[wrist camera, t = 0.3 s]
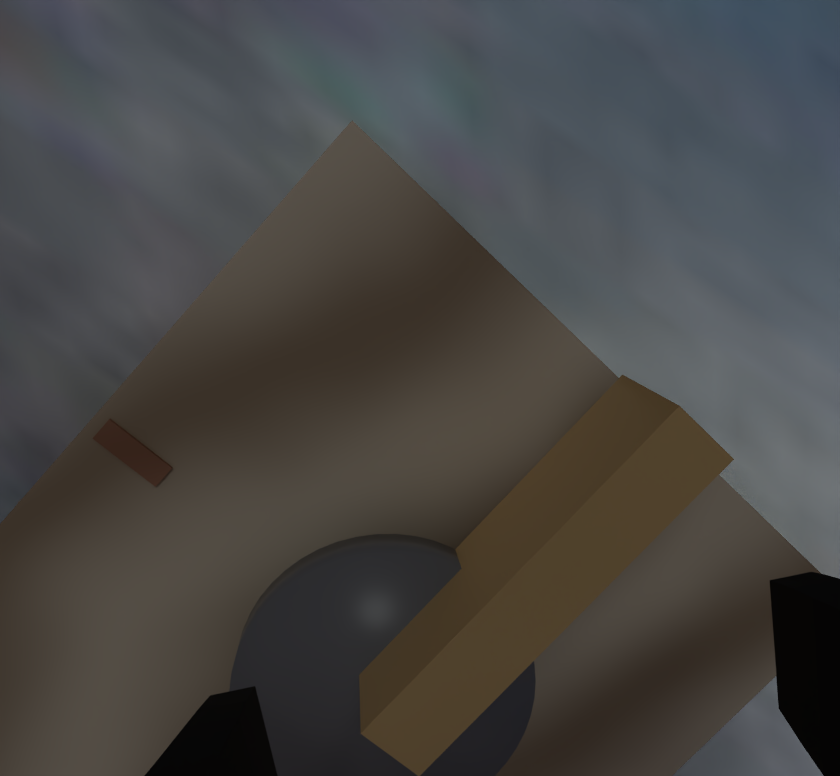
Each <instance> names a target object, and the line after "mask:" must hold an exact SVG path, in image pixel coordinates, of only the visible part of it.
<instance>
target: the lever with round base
mask: <svg viewBox="0 0 840 776" xmlns="http://www.w3.org/2000/svg"><path fill="white" fill-rule="evenodd" d="M733 460H734V459H733V458H732V457H731V456H730V455H729V454H728V453H727V452H726V451H725V450H724V449H723V448H722V447H721V446H720V445H719V444H718V443H717V442H716V441H715V440H714V439H713V438H712V437H711V436H710V435H709V434H708V433H707V432H706V431H705V430H704V429H703V428H702V427H700V426H699V425H698V424H697V423H696V422H695V421H694V420H693V419H692V418H691V417H690V416H689V415H688V414H687V413H686V412H685V411H684V410H683V409H682V408H681V407H680V406H679V405H677V404H675V403H673V402H671V401H670V400H668V399H666V398H664V397H662V396H660V395H659V394H657V393H655V392H653V391H651V390H649V389H648V388H646V387H644V386H642V385H640V384H638V383H637V382H635V381H633V380H631V379H629V378H627V377H626V376H624V375H622V376H621V377H620V378H619V379H618V380H617V381H616V382H615V383H614V384H613V385H612V386H611V387H610V388H609V389H608V390H607V391H606V392H605V393H604V394H603V396H602V397H601V398H600V399H599V400H598V401H597V402H596V403H595V404H594V405H593V406H592V407H591V408H590V409H589V410H588V411H587V412H586V413H585V414H584V415H583V416H582V417H581V418H580V420H579V421H578V422H577V423H576V424H575V425H574V426H573V427H572V428H571V429H570V430H569V431H568V432H567V433H566V434H565V435H564V436H563V437H562V438H561V439H560V440H559V441H558V442H557V444H556V445H555V446H554V447H553V448H552V449H551V450H550V451H549V452H548V453H547V454H546V455H545V456H544V457H543V458H542V459H541V460H540V461H539V462H538V463H537V464H536V465H535V466H534V468H533V469H532V470H531V471H530V472H529V473H528V474H527V475H526V476H525V477H524V478H523V479H522V480H521V481H520V482H519V483H518V484H517V485H516V486H515V487H514V488H513V489H512V491H511V492H510V493H509V494H508V495H507V496H506V497H505V498H504V499H503V500H502V501H501V502H500V503H499V504H498V505H497V506H496V507H495V508H494V509H493V510H492V511H491V512H490V513H489V515H488V516H487V517H486V518H485V519H484V520H483V521H482V522H481V523H480V524H479V525H478V526H477V527H476V528H475V529H474V530H473V531H472V532H471V533H470V534H469V535H468V536H467V537H466V539H465V540H464V541H463V542H462V543H461V544H460V545H459V546H458V547H457V548H456V549H454V548H452V547H450V546H447V545H444V544H442V543H439V542H436V541H434V540H430V539H426V538H421V537H417V536H411V535H402V534H373V535H366V536H358V537H354V538H350V539H346V540H342V541H338V542H335V543H333V544H330V545H328V546H325V547H323V548H320V549H318V550H316V551H314V552H312V553H311V554H309V555H307V556H305V557H303V558H302V559H300V560H299V561H297V562H296V563H295V564H293V565H292V566H290V567H289V568H288V569H286V570H285V571H284V572H283V573H282V574H281V575H280V576H279V577H278V578H276V579H275V580H274V581H273V582H272V583H271V584H270V586H269V587H268V588H267V589H266V591H265V592H264V593H263V594H262V595H261V597H260V598H259V599H258V601H257V603H256V604H255V606H254V608H253V609H252V611H251V613H250V614H249V617H248V619H247V621H246V624H245V626H244V628H243V631H242V634H241V638H240V642H239V645H238V649H237V653H236V657H235V661H234V664H233V668H232V672H231V680H230V689H229V691H234V690H239V689H243V688H248V687H253V686H255V687H256V691H257V695H258V699H259V703H260V707H261V711H262V715H263V719H264V723H265V727H266V731H267V735H268V739H269V743H270V747H271V751H272V755H273V759H274V763H275V767H276V771H277V775H278V776H495V775H496V774H497V773H498V772H499V771H500V769H501V768H502V767H503V766H504V765H505V764H506V763H507V761H508V760H509V758H510V757H511V755H512V754H513V753H514V751H515V750H516V748H517V746H518V744H519V742H520V741H521V739H522V737H523V735H524V733H525V730H526V728H527V725H528V722H529V719H530V716H531V712H532V708H533V703H534V698H535V683H536V678H535V665H534V660H535V659H536V658H537V657H538V656H539V655H540V654H541V653H542V652H543V651H544V650H545V649H546V648H547V647H548V646H549V645H550V644H551V643H552V642H553V641H554V640H555V639H556V638H557V637H558V636H559V635H560V634H561V633H562V632H563V631H564V630H565V629H566V628H567V627H568V626H569V625H570V624H571V623H572V622H573V621H574V620H575V619H576V618H577V617H578V616H579V615H580V614H581V613H582V612H583V611H584V610H585V609H586V608H587V607H588V606H589V605H590V604H591V603H592V602H593V601H594V600H595V599H596V598H597V597H598V596H599V595H600V594H601V593H602V592H603V591H604V590H605V589H606V588H607V587H608V586H609V585H610V584H611V583H612V582H613V581H614V580H615V579H616V578H617V577H618V576H619V575H620V574H621V573H622V572H623V571H624V570H625V569H626V568H627V567H628V565H629V564H630V563H631V562H632V561H633V560H634V559H635V558H636V557H637V556H638V555H639V554H640V553H641V552H642V551H643V550H644V549H645V548H646V547H647V546H648V545H649V544H650V543H651V542H652V541H653V540H654V539H655V538H656V537H657V536H658V535H659V534H660V533H661V532H662V531H663V530H664V529H665V528H666V527H667V526H668V525H669V524H670V523H671V522H672V521H673V520H674V519H675V518H676V517H677V516H678V515H679V514H680V513H681V512H682V511H683V510H684V509H685V508H686V507H687V506H688V505H689V504H690V503H691V502H692V501H693V500H694V499H695V498H696V497H697V496H698V495H699V494H700V493H701V492H702V491H703V490H704V489H705V488H706V487H707V486H708V485H709V484H710V483H711V482H712V481H713V480H714V479H715V478H716V477H717V476H718V475H719V474H720V473H721V472H722V471H723V470H724V469H725V468H726V467H727V466H728V465H729V464H730V463H731V462H732V461H733Z"/></svg>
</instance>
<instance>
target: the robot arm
mask: <svg viewBox="0 0 840 776" xmlns="http://www.w3.org/2000/svg"><path fill="white" fill-rule="evenodd" d="M770 594H771V608H772V621H773V635H774V649H775V662H776V676H777V690H778V703H779V709H780V711H781V713H782V714H783V716H784V717H785V719H786V720H787V722H788V723H789V725H790V726H791V728H792V730H793V731H794V733H795V734H796V736H797V737H798V739H799V740H800V742H801V743H802V745H803V746H804V748H805V749H806V751H807V752H808V754H809V755H810V757H811V758H812V759H813V761H814V762H815V764H816V765H817V767H818V768H819V770H820V771H821V772H822V774H823V775H824V776H840V579H838V578H835V577H831V576H828V575H824V574H820V573H815V572H807V573H802V574H798V575H793V576H788V577H783V578H778V579H773V580H770ZM145 776H278V775H277V771H276V767H275V763H274V759H273V755H272V751H271V747H270V743H269V739H268V735H267V731H266V727H265V723H264V719H263V715H262V711H261V707H260V703H259V699H258V695H257V691H256V687H255V686H253V687H248V688H243V689H239V690H234V691H229V692H224V693H219V694H214V695H210V696H209V697H208V698H207V700H206V701H205V702H204V703H203V704H202V705H201V706H200V708H199V709H198V710H197V711H196V713H195V714H194V715H193V716H192V717H191V719H190V720H189V721H188V722H187V724H186V725H185V726H184V727H183V729H182V730H181V731H180V732H179V734H178V735H177V736H176V737H175V739H174V740H173V741H172V742H171V744H170V745H169V746H168V747H167V749H166V750H165V751H164V752H163V754H162V755H161V756H160V757H159V759H158V760H157V761H156V762H155V763H154V765H153V766H152V767H151V768H150V770H149V771H148V772H147V773H146V774H145Z"/></svg>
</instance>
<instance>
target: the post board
mask: <svg viewBox="0 0 840 776" xmlns="http://www.w3.org/2000/svg"><path fill="white" fill-rule="evenodd" d="M618 379H619V378H618V377H617V376H616V375H615V374H614V373H613V372H612V371H611V370H610V369H609V368H608V367H607V366H606V365H605V364H604V363H603V362H602V361H601V360H600V359H598V358H597V357H596V356H595V355H594V354H593V353H592V352H591V351H590V350H589V349H588V348H587V347H586V346H585V345H584V344H583V343H582V342H581V341H580V340H579V339H578V338H577V337H576V336H575V335H574V334H573V333H572V332H571V331H569V330H568V329H567V328H566V327H565V326H564V325H563V324H562V323H561V322H560V321H559V320H558V319H557V318H556V317H555V316H554V315H553V314H552V313H551V312H550V311H549V310H548V309H547V308H546V307H545V306H544V305H543V304H542V303H541V302H539V301H538V300H537V299H536V298H535V297H534V296H533V295H532V294H531V293H530V292H529V291H528V290H527V289H526V288H525V287H524V286H523V285H522V284H521V283H520V282H519V281H518V280H517V279H516V278H515V277H514V276H513V275H512V274H510V273H509V272H508V271H507V270H506V269H505V268H504V267H503V266H502V265H501V264H500V263H499V262H498V261H497V260H496V259H495V258H494V257H493V256H492V255H491V254H490V253H489V252H488V251H487V250H486V249H485V248H484V247H483V246H482V245H480V244H479V243H478V242H477V241H476V240H475V239H474V238H473V237H472V236H471V235H470V234H469V233H468V232H467V231H466V230H465V229H464V228H463V227H462V226H461V225H460V224H459V223H458V222H457V221H456V220H455V219H454V218H453V217H451V216H450V215H449V214H448V213H447V212H446V211H445V210H444V209H443V208H442V207H441V206H440V205H439V204H438V203H437V202H436V201H435V200H434V199H433V198H432V197H431V196H430V195H429V194H428V193H427V192H426V191H425V190H424V189H423V188H421V187H420V186H419V185H418V184H417V183H416V182H415V181H414V180H413V179H412V178H411V177H410V176H409V175H408V174H407V173H406V172H405V171H404V170H403V169H402V168H401V167H400V166H399V165H398V164H397V163H396V162H395V161H394V160H392V159H391V158H390V157H389V156H388V155H387V154H386V153H385V152H384V151H383V150H382V149H381V148H380V147H379V146H378V145H377V144H376V143H375V142H374V141H373V140H372V139H371V138H370V137H369V136H368V135H367V134H366V133H365V132H363V131H362V130H361V129H360V128H359V127H358V126H357V125H356V124H355V123H354V122H353V121H351V122H350V123H349V125H348V126H347V127H346V128H345V129H344V130H343V131H342V133H341V134H340V135H339V136H338V137H337V138H336V139H335V141H334V142H333V143H332V144H331V145H330V146H329V147H328V149H327V150H326V151H325V152H324V153H323V154H322V155H321V157H320V158H319V159H318V160H317V161H316V162H315V164H314V165H313V166H312V167H311V168H310V169H309V170H308V172H307V173H306V174H305V175H304V176H303V177H302V178H301V180H300V181H299V182H298V183H297V184H296V185H295V186H294V188H293V189H292V190H291V191H290V192H289V193H288V194H287V196H286V197H285V198H284V199H283V200H282V201H281V203H280V204H279V205H278V206H277V207H276V208H275V209H274V211H273V212H272V213H271V214H270V215H269V216H268V217H267V219H266V220H265V221H264V222H263V223H262V224H261V225H260V227H259V228H258V229H257V230H256V231H255V232H254V233H253V235H252V236H251V237H250V238H249V239H248V240H247V242H246V243H245V244H244V245H243V246H242V247H241V248H240V250H239V251H238V252H237V253H236V254H235V255H234V256H233V258H232V259H231V260H230V261H229V262H228V263H227V264H226V266H225V267H224V268H223V269H222V270H221V271H220V272H219V274H218V275H217V276H216V277H215V278H214V279H213V281H212V282H211V283H210V284H209V285H208V286H207V287H206V289H205V290H204V291H203V292H202V293H201V294H200V295H199V297H198V298H197V299H196V300H195V301H194V302H193V303H192V305H191V306H190V307H189V308H188V309H187V310H186V311H185V313H184V314H183V315H182V316H181V317H180V318H179V320H178V321H177V322H176V323H175V324H174V325H173V326H172V328H171V329H170V330H169V331H168V332H167V333H166V334H165V336H164V337H163V338H162V339H161V340H160V341H159V342H158V344H157V345H156V346H155V347H154V348H153V349H152V350H151V352H150V353H149V354H148V355H147V356H146V357H145V359H144V360H143V361H142V362H141V363H140V364H139V365H138V367H137V368H136V369H135V370H134V371H133V372H132V373H131V375H130V376H129V377H128V378H127V379H126V380H125V381H124V383H123V384H122V385H121V386H120V387H119V388H118V389H117V391H116V392H115V393H114V394H113V395H112V396H111V398H110V399H109V400H108V401H107V402H106V403H105V404H104V406H103V407H102V408H101V409H100V410H99V411H98V412H97V414H96V415H95V416H94V417H93V418H92V419H91V420H90V422H89V423H88V424H87V425H86V426H85V427H84V428H83V430H82V431H81V432H80V433H79V434H78V435H77V437H76V438H75V439H74V440H73V441H72V442H71V443H70V445H69V446H68V447H67V448H66V449H65V450H64V451H63V453H62V454H61V455H60V456H59V457H58V458H57V459H56V461H55V462H54V463H53V464H52V465H51V466H50V467H49V469H48V470H47V471H46V472H45V473H44V474H43V475H42V477H41V478H40V479H39V480H38V481H37V482H36V484H35V485H34V486H33V487H32V488H31V489H30V490H29V492H28V493H27V494H26V495H25V496H24V497H23V498H22V500H21V501H20V502H19V503H18V504H17V505H16V506H15V508H14V509H13V510H12V511H11V512H10V513H9V514H8V516H7V517H6V518H5V519H4V520H3V521H2V523H1V524H0V776H145V774H146V773H147V772H148V771H149V770H150V768H151V767H152V766H153V765H154V763H155V762H156V761H157V760H158V759H159V757H160V756H161V755H162V754H163V752H164V751H165V750H166V749H167V747H168V746H169V745H170V744H171V742H172V741H173V740H174V739H175V737H176V736H177V735H178V734H179V732H180V731H181V730H182V729H183V727H184V726H185V725H186V724H187V722H188V721H189V720H190V719H191V717H192V716H193V715H194V714H195V713H196V711H197V710H198V709H199V708H200V706H201V705H202V704H203V703H204V702H205V701H206V700H207V698H208V697H209V696H210V695H214V694H219V693H224V692H229V689H230V680H231V672H232V668H233V664H234V661H235V657H236V653H237V649H238V645H239V642H240V638H241V634H242V631H243V628H244V626H245V624H246V621H247V619H248V617H249V614H250V613H251V611H252V609H253V608H254V606H255V604H256V603H257V601H258V599H259V598H260V597H261V595H262V594H263V593H264V592H265V591H266V589H267V588H268V587H269V586H270V584H271V583H272V582H273V581H274V580H275V579H276V578H278V577H279V576H280V575H281V574H282V573H283V572H284V571H285V570H286V569H288V568H289V567H290V566H292V565H293V564H295V563H296V562H297V561H299V560H300V559H302V558H303V557H305V556H307V555H309V554H311V553H312V552H314V551H316V550H318V549H320V548H323V547H325V546H328V545H330V544H333V543H335V542H338V541H342V540H346V539H350V538H354V537H358V536H366V535H373V534H402V535H411V536H417V537H421V538H426V539H430V540H434V541H436V542H439V543H442V544H444V545H447V546H450V547H452V548H454V549H456V548H457V547H458V546H459V545H460V544H461V543H462V542H463V541H464V540H465V539H466V537H467V536H468V535H469V534H470V533H471V532H472V531H473V530H474V529H475V528H476V527H477V526H478V525H479V524H480V523H481V522H482V521H483V520H484V519H485V518H486V517H487V516H488V515H489V513H490V512H491V511H492V510H493V509H494V508H495V507H496V506H497V505H498V504H499V503H500V502H501V501H502V500H503V499H504V498H505V497H506V496H507V495H508V494H509V493H510V492H511V491H512V489H513V488H514V487H515V486H516V485H517V484H518V483H519V482H520V481H521V480H522V479H523V478H524V477H525V476H526V475H527V474H528V473H529V472H530V471H531V470H532V469H533V468H534V466H535V465H536V464H537V463H538V462H539V461H540V460H541V459H542V458H543V457H544V456H545V455H546V454H547V453H548V452H549V451H550V450H551V449H552V448H553V447H554V446H555V445H556V444H557V442H558V441H559V440H560V439H561V438H562V437H563V436H564V435H565V434H566V433H567V432H568V431H569V430H570V429H571V428H572V427H573V426H574V425H575V424H576V423H577V422H578V421H579V420H580V418H581V417H582V416H583V415H584V414H585V413H586V412H587V411H588V410H589V409H590V408H591V407H592V406H593V405H594V404H595V403H596V402H597V401H598V400H599V399H600V398H601V397H602V396H603V394H604V393H605V392H606V391H607V390H608V389H609V388H610V387H611V386H612V385H613V384H614V383H615V382H616V381H617V380H618ZM807 572H815V573H820V572H819V571H818V570H817V569H816V568H815V567H814V566H813V565H812V564H811V563H810V562H809V561H808V560H807V559H806V558H804V557H803V556H802V555H801V554H800V553H799V552H798V551H797V550H796V549H795V548H794V547H793V546H792V545H791V544H790V543H789V542H788V541H787V540H786V539H785V538H784V537H783V536H782V535H781V534H780V533H779V532H778V531H777V530H775V529H774V528H773V527H772V526H771V525H770V524H769V523H768V522H767V521H766V520H765V519H764V518H763V517H762V516H761V515H760V514H759V513H758V512H757V511H756V510H755V509H754V508H753V507H752V506H751V505H750V504H749V503H748V502H747V501H745V500H744V499H743V498H742V497H741V496H740V495H739V494H738V493H737V492H736V491H735V490H734V489H733V488H732V487H731V486H730V485H729V484H728V483H727V482H726V481H725V480H724V479H723V478H722V477H721V476H720V475H718V476H717V477H716V478H715V479H714V480H713V481H712V482H711V483H710V484H709V485H708V486H707V487H706V488H705V489H704V490H703V491H702V492H701V493H700V494H699V495H698V496H697V497H696V498H695V499H694V500H693V501H692V502H691V503H690V504H689V505H688V506H687V507H686V508H685V509H684V510H683V511H682V512H681V513H680V514H679V515H678V516H677V517H676V518H675V519H674V520H673V521H672V522H671V523H670V524H669V525H668V526H667V527H666V528H665V529H664V530H663V531H662V532H661V533H660V534H659V535H658V536H657V537H656V538H655V539H654V540H653V541H652V542H651V543H650V544H649V545H648V546H647V547H646V548H645V549H644V550H643V551H642V552H641V553H640V554H639V555H638V556H637V557H636V558H635V559H634V560H633V561H632V562H631V563H630V564H629V565H628V567H627V568H626V569H625V570H624V571H623V572H622V573H621V574H620V575H619V576H618V577H617V578H616V579H615V580H614V581H613V582H612V583H611V584H610V585H609V586H608V587H607V588H606V589H605V590H604V591H603V592H602V593H601V594H600V595H599V596H598V597H597V598H596V599H595V600H594V601H593V602H592V603H591V604H590V605H589V606H588V607H587V608H586V609H585V610H584V611H583V612H582V613H581V614H580V615H579V616H578V617H577V618H576V619H575V620H574V621H573V622H572V623H571V624H570V625H569V626H568V627H567V628H566V629H565V630H564V631H563V632H562V633H561V634H560V635H559V636H558V637H557V638H556V639H555V640H554V641H553V642H552V643H551V644H550V645H549V646H548V647H547V648H546V649H545V650H544V651H543V652H542V653H541V654H540V655H539V656H538V657H537V658H536V659H535V660H534V665H535V678H536V683H535V698H534V703H533V708H532V712H531V716H530V719H529V722H528V725H527V728H526V730H525V733H524V735H523V737H522V739H521V741H520V742H519V744H518V746H517V748H516V750H515V751H514V753H513V754H512V755H511V757H510V758H509V760H508V761H507V763H506V764H505V765H504V766H503V767H502V768H501V769H500V771H499V772H498V773H497V774H496V775H495V776H672V775H673V774H674V773H675V772H676V771H677V770H679V769H680V768H681V767H682V766H683V765H684V764H685V763H686V762H687V761H688V760H689V759H690V758H691V757H692V756H693V755H694V754H695V753H696V752H697V751H698V750H699V749H700V748H701V747H702V746H703V745H705V744H706V743H707V742H708V741H709V740H710V739H711V738H712V737H713V736H714V735H715V734H716V733H717V732H718V731H719V730H720V729H721V728H722V727H723V726H724V725H725V724H726V723H727V722H728V721H729V720H731V719H732V718H733V717H734V716H735V715H736V714H737V713H738V712H739V711H740V710H741V709H742V708H743V707H744V706H745V705H746V704H747V703H748V702H749V701H750V700H751V699H752V698H753V697H754V696H755V695H756V694H758V693H759V692H760V691H761V690H762V689H763V688H764V687H765V686H766V685H767V684H768V683H769V682H770V681H771V680H772V679H773V678H774V677H775V676H776V662H775V649H774V635H773V621H772V608H771V594H770V580H773V579H778V578H783V577H788V576H793V575H798V574H802V573H807ZM820 574H821V573H820Z"/></svg>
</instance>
